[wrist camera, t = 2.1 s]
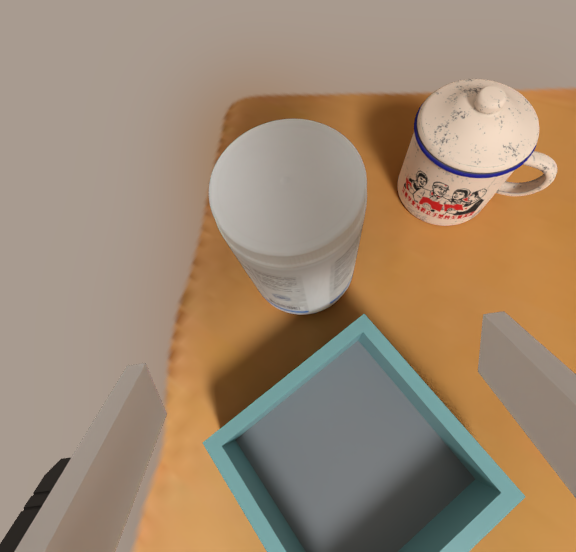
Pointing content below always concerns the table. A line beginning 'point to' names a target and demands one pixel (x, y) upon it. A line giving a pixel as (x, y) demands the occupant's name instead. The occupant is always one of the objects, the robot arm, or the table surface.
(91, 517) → the robot arm
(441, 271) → the table surface
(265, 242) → the supplement tub
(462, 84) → the teacup with lid
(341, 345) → the open square box
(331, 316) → the table surface
